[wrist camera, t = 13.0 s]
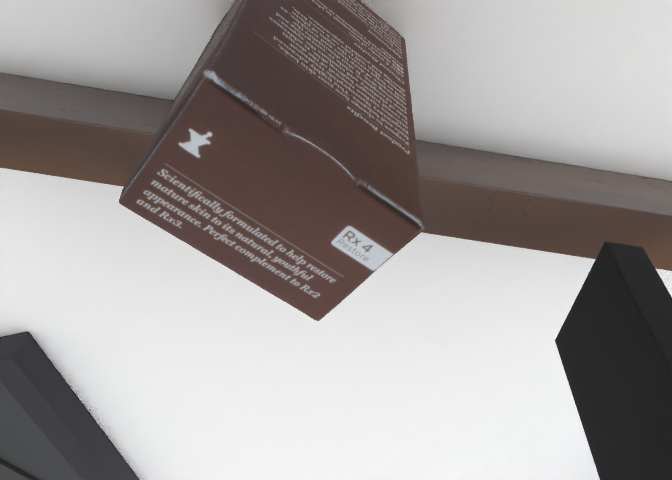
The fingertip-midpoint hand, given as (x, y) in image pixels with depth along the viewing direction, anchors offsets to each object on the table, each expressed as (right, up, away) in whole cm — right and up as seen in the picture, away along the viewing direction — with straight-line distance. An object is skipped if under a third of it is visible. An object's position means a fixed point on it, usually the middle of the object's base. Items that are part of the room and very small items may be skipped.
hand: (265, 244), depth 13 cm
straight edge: (+3, +3, +14) cm, 15 cm away
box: (0, +8, +12) cm, 14 cm away
